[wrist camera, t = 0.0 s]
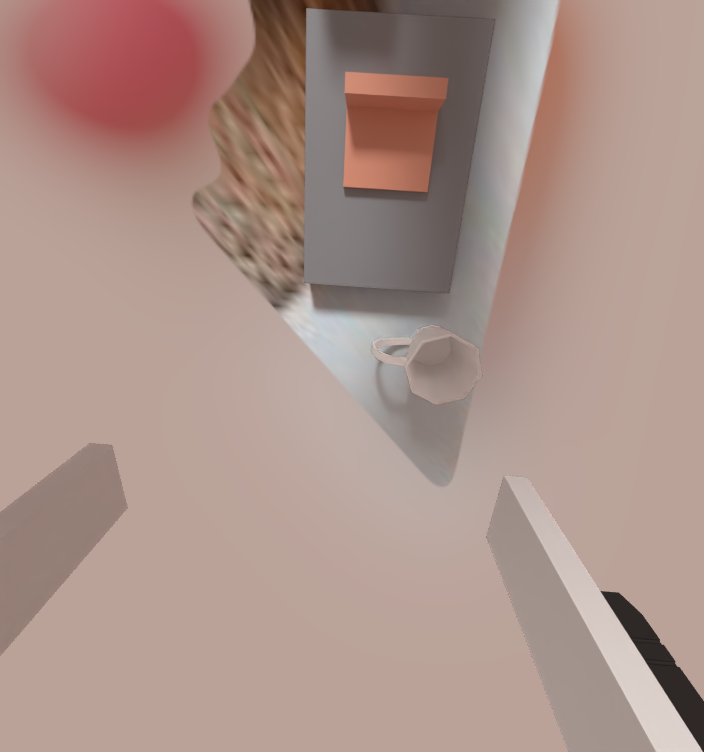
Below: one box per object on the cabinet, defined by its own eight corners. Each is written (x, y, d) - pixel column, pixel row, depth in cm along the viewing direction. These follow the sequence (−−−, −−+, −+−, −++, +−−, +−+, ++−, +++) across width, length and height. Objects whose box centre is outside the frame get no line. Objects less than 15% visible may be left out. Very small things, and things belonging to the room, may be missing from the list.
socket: (312, 29, 29) (306, 8, 26) (482, 39, 29) (495, 19, 26) (308, 279, 37) (304, 283, 34) (442, 288, 36) (449, 293, 34)
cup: (453, 376, 40) (472, 410, 33) (366, 365, 40) (366, 396, 33) (468, 316, 37) (493, 338, 30) (375, 304, 37) (377, 323, 30)
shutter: (348, 84, 28) (345, 64, 24) (439, 89, 27) (449, 70, 24) (343, 187, 30) (340, 182, 27) (426, 192, 30) (433, 188, 27)
